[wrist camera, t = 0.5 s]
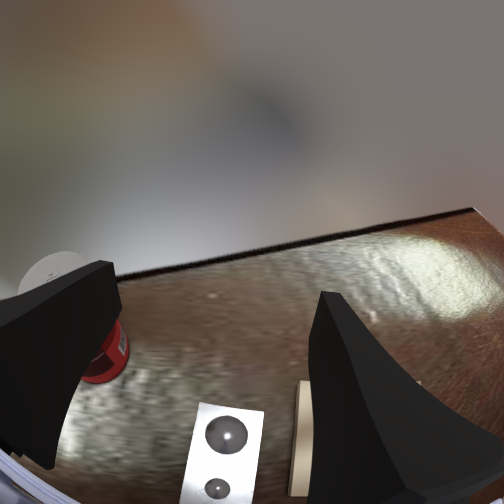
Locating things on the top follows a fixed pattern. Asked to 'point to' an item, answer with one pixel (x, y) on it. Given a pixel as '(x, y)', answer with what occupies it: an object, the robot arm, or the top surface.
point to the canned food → (116, 344)
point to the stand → (302, 442)
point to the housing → (222, 456)
